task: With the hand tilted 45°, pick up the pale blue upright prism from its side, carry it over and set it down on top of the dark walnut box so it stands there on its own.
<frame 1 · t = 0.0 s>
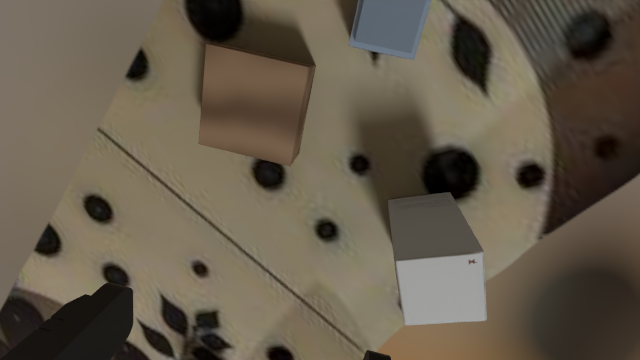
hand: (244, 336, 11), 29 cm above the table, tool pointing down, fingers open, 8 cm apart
supplement box: (420, 221, 41), on the table
pale blue upright prism: (383, 26, 34), on the table
walnut box: (264, 101, 38), on the table
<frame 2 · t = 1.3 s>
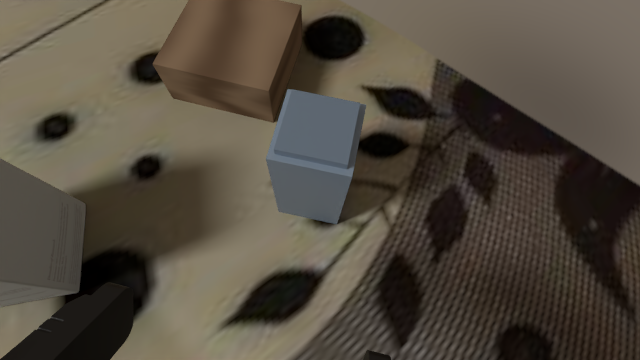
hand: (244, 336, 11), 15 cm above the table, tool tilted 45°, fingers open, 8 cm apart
supplement box: (37, 254, 27), on the table
pale blue upright prism: (314, 190, 29), on the table
walnut box: (241, 71, 34), on the table
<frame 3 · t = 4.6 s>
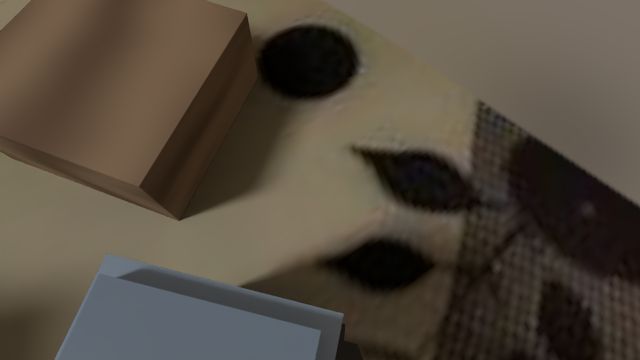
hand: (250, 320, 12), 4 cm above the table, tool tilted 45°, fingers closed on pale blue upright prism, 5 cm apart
walnut box: (146, 117, 20), on the table
when the fingers open (10 cm above the table, at t = 9.7 s): pale blue upright prism stays where it is, resting on walnut box.
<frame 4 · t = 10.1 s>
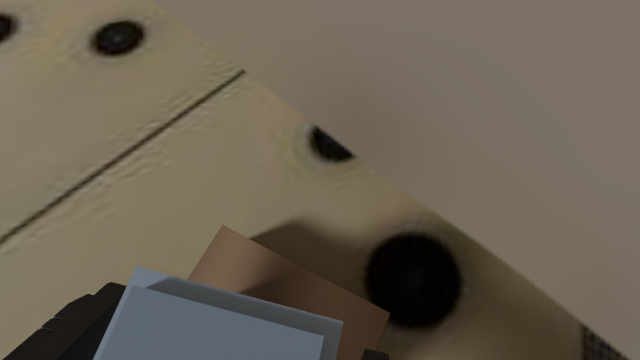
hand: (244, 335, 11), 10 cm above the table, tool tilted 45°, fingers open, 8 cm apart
walnut box: (264, 354, 21), on the table, touching pale blue upright prism
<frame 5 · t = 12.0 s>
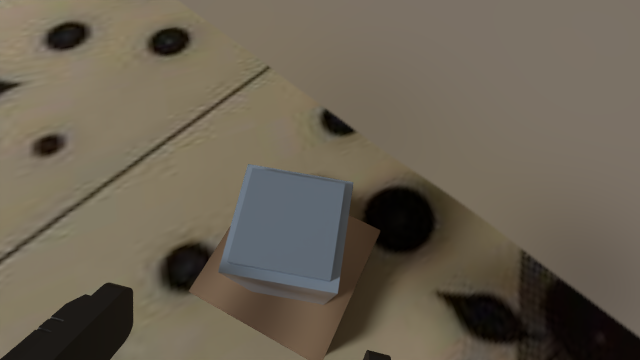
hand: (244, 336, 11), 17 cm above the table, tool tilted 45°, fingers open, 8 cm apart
pale blue upright prism: (295, 261, 24), point 5 cm above the table
walnut box: (291, 270, 29), on the table
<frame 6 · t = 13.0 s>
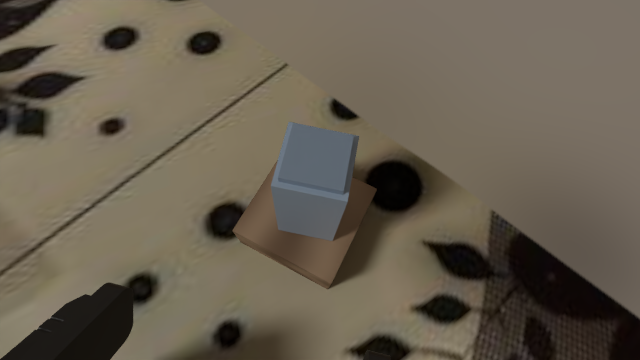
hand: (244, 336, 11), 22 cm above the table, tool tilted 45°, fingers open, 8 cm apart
pale blue upright prism: (310, 209, 32), point 5 cm above the table, touching walnut box
walnut box: (306, 223, 36), on the table, touching pale blue upright prism
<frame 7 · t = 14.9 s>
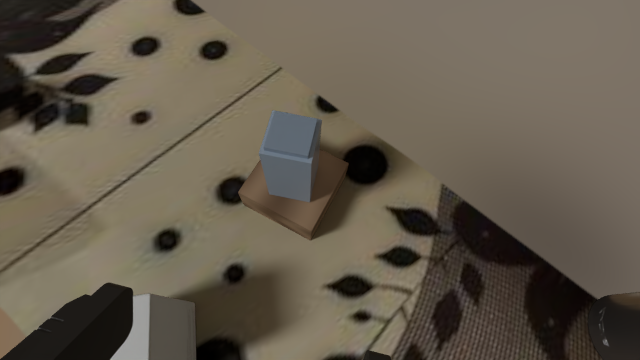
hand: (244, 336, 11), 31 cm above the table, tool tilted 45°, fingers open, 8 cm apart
supplement box: (164, 340, 39), on the table
pale blue upright prism: (294, 179, 42), point 5 cm above the table, touching walnut box
walnut box: (295, 192, 47), on the table, touching pale blue upright prism
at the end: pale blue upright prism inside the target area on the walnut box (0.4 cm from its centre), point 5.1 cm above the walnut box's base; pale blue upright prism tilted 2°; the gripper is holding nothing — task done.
